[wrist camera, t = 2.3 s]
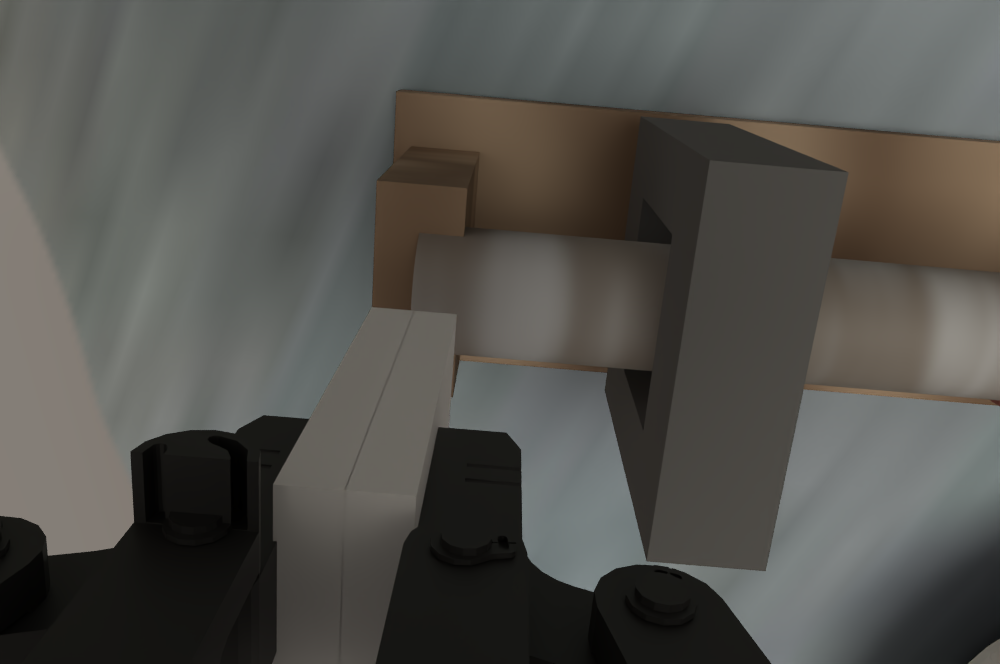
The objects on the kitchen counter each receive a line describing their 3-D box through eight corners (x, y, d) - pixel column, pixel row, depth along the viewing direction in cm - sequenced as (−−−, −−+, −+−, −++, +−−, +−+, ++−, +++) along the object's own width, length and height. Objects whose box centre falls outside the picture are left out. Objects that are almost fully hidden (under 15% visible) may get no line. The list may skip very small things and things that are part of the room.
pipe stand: (389, 343, 28) (337, 467, 20) (400, 89, 26) (346, 112, 18) (1181, 410, 29) (1448, 559, 20) (1270, 164, 26) (1616, 222, 18)
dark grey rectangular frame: (605, 390, 26) (646, 561, 18) (640, 116, 24) (710, 160, 15) (684, 396, 26) (765, 571, 18) (729, 123, 24) (849, 172, 15)
